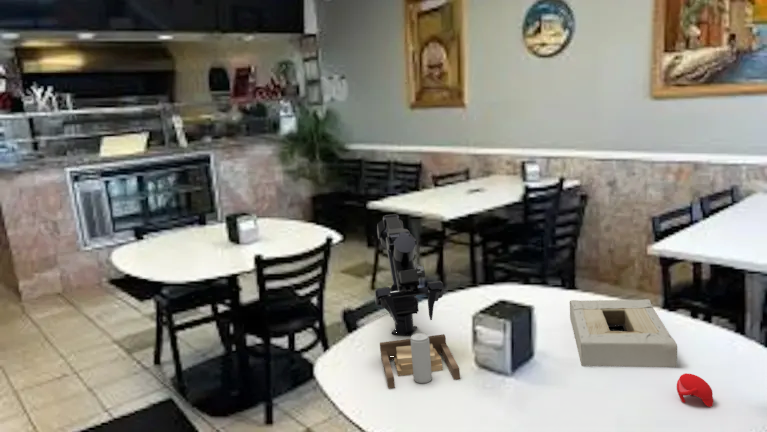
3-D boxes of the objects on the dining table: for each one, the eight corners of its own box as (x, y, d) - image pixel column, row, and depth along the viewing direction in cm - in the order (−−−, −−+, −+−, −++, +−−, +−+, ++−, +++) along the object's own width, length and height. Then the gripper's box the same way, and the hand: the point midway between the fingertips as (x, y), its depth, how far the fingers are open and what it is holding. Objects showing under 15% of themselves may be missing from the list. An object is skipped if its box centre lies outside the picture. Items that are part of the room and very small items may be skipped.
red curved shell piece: (667, 387, 133) (689, 383, 128) (676, 370, 137) (698, 365, 132) (691, 415, 133) (714, 412, 128) (700, 396, 136) (723, 392, 131)
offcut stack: (394, 362, 165) (392, 347, 164) (436, 356, 166) (435, 341, 165) (398, 376, 157) (396, 360, 156) (442, 370, 158) (441, 354, 157)
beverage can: (410, 382, 153) (407, 339, 151) (418, 374, 157) (414, 331, 155) (427, 385, 151) (424, 341, 148) (435, 376, 155) (431, 333, 152)
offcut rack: (381, 359, 168) (379, 342, 167) (445, 350, 170) (444, 334, 169) (388, 388, 151) (386, 370, 150) (460, 378, 153) (458, 360, 152)
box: (679, 370, 148) (649, 320, 179) (679, 341, 147) (649, 295, 177) (581, 370, 153) (569, 321, 184) (580, 343, 151) (568, 298, 182)
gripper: (372, 260, 160) (380, 313, 151) (440, 252, 161) (451, 304, 153) (372, 279, 169) (379, 330, 160) (436, 272, 171) (447, 322, 162)
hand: (414, 321), depth 159 cm, fingers open, 9 cm apart
